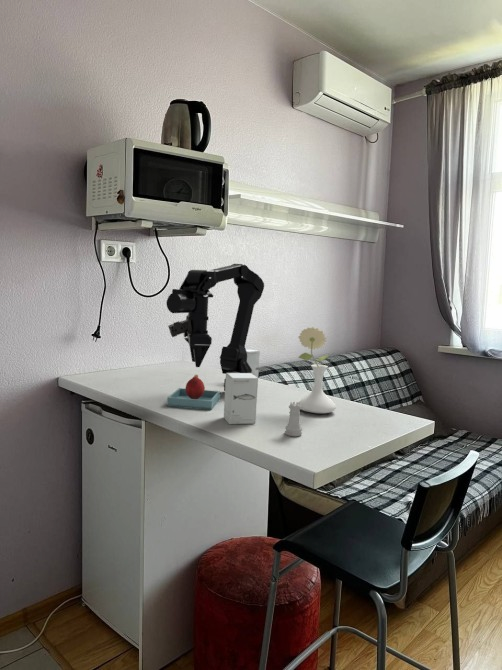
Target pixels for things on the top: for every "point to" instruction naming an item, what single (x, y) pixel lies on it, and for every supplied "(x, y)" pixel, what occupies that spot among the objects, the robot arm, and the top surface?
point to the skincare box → (253, 361)
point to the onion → (195, 388)
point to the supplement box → (240, 398)
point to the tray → (193, 400)
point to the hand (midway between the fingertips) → (195, 364)
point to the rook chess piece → (294, 421)
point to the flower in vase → (315, 374)
